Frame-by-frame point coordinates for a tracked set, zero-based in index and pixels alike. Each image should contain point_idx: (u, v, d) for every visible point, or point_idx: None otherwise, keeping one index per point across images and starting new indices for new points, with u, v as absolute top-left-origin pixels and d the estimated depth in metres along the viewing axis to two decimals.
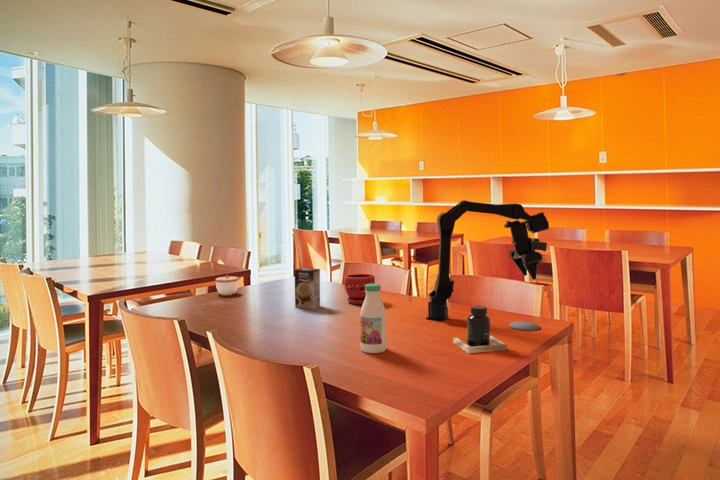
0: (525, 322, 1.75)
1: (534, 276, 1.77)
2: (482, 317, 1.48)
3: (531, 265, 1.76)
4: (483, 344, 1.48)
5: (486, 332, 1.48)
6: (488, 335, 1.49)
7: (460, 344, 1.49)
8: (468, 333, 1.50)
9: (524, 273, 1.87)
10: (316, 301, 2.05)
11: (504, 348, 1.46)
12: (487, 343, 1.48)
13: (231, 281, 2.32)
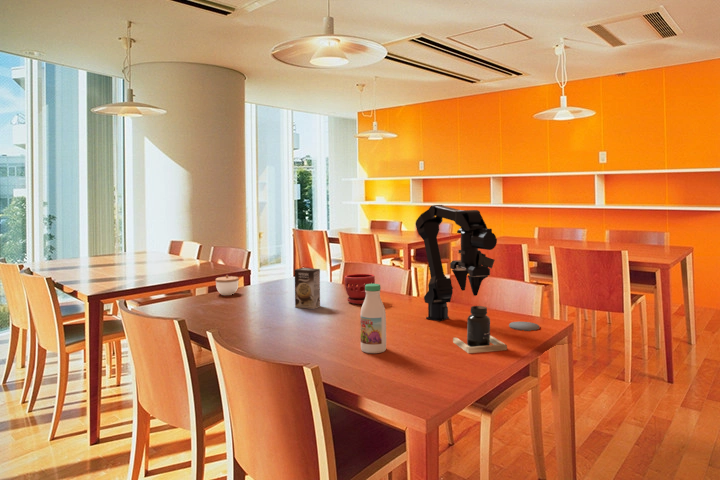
0: (525, 322, 1.75)
1: (476, 292, 1.62)
2: (482, 317, 1.48)
3: (476, 279, 1.61)
4: (483, 344, 1.48)
5: (486, 332, 1.48)
6: (488, 335, 1.49)
7: (460, 344, 1.49)
8: (468, 333, 1.50)
9: (462, 288, 1.71)
10: (316, 301, 2.05)
11: (504, 348, 1.46)
12: (487, 343, 1.48)
13: (231, 281, 2.32)
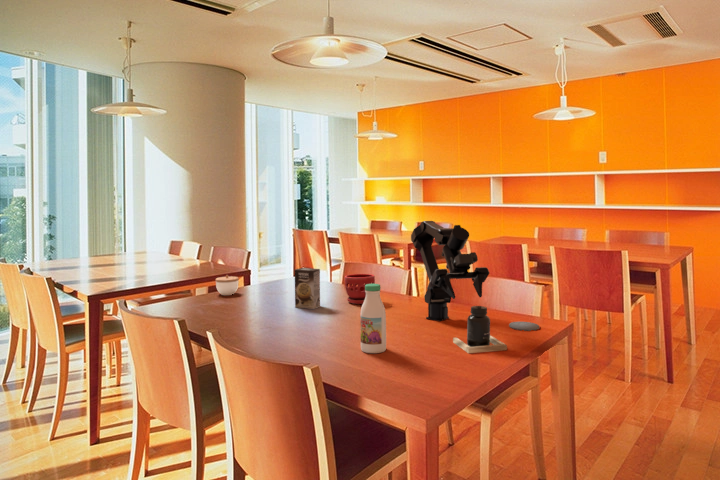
0: (525, 322, 1.75)
1: (452, 295, 1.57)
2: (482, 317, 1.48)
3: (446, 284, 1.60)
4: (483, 344, 1.48)
5: (486, 332, 1.48)
6: (488, 335, 1.49)
7: (460, 344, 1.49)
8: (468, 333, 1.50)
9: (479, 295, 1.60)
10: (316, 301, 2.05)
11: (504, 348, 1.46)
12: (487, 343, 1.48)
13: (231, 281, 2.32)
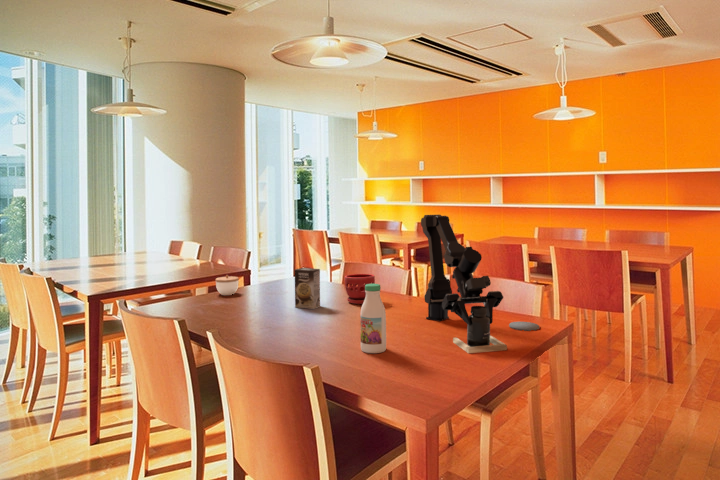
0: (525, 322, 1.75)
1: (467, 321, 1.49)
2: (482, 317, 1.48)
3: (460, 310, 1.52)
4: (483, 344, 1.48)
5: (486, 332, 1.48)
6: (488, 335, 1.49)
7: (460, 344, 1.49)
8: (468, 333, 1.50)
9: None
10: (316, 301, 2.05)
11: (504, 348, 1.46)
12: (487, 343, 1.48)
13: (231, 281, 2.32)
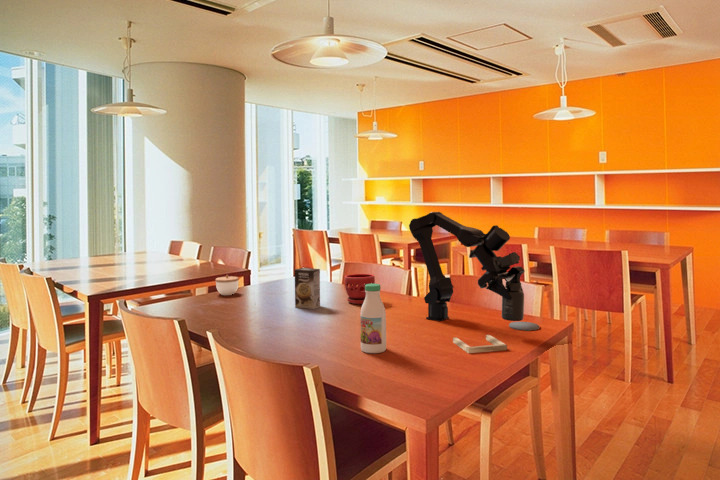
0: (525, 322, 1.75)
1: (507, 296, 1.55)
2: (519, 291, 1.56)
3: (497, 286, 1.57)
4: (521, 316, 1.56)
5: (523, 305, 1.56)
6: (523, 308, 1.57)
7: (460, 344, 1.49)
8: (506, 308, 1.56)
9: None
10: (316, 301, 2.05)
11: (504, 348, 1.46)
12: (523, 315, 1.57)
13: (231, 281, 2.32)
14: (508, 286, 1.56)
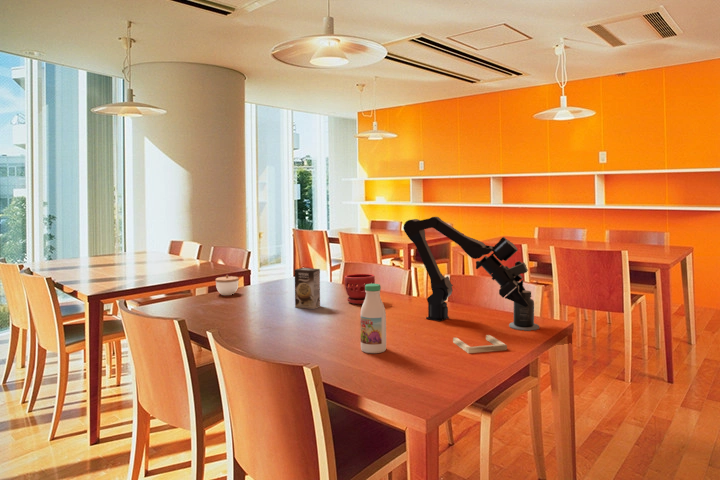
0: None
1: (524, 303, 1.66)
2: (531, 299, 1.70)
3: (514, 295, 1.66)
4: (533, 322, 1.70)
5: None
6: None
7: (460, 344, 1.49)
8: (522, 315, 1.68)
9: None
10: (316, 301, 2.05)
11: (504, 348, 1.46)
12: None
13: (231, 281, 2.32)
14: (522, 295, 1.69)
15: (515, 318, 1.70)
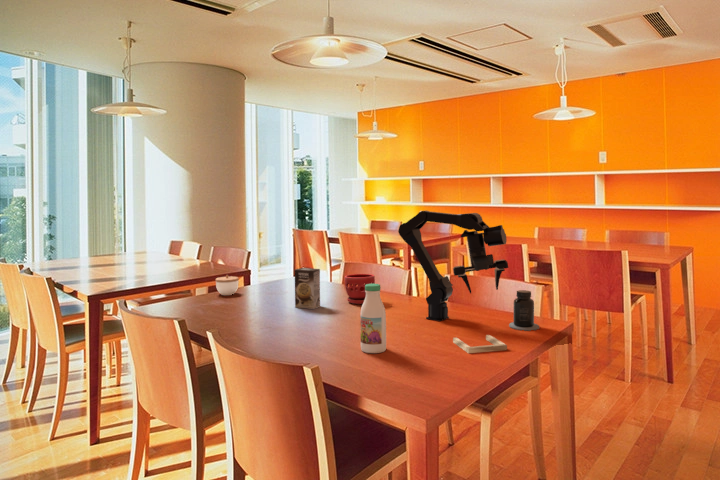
0: None
1: None
2: (531, 299, 1.70)
3: None
4: (533, 322, 1.70)
5: None
6: None
7: (460, 344, 1.49)
8: (522, 315, 1.68)
9: None
10: (316, 301, 2.05)
11: (504, 348, 1.46)
12: None
13: (231, 281, 2.32)
14: (522, 295, 1.69)
15: (515, 318, 1.70)
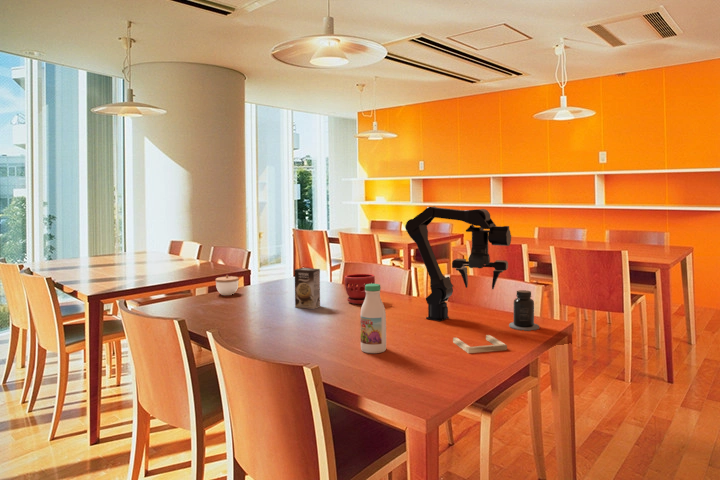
0: None
1: None
2: (531, 299, 1.70)
3: None
4: (533, 322, 1.70)
5: None
6: None
7: (460, 344, 1.49)
8: (522, 315, 1.68)
9: None
10: (316, 301, 2.05)
11: (504, 348, 1.46)
12: None
13: (231, 281, 2.32)
14: (522, 295, 1.69)
15: (515, 318, 1.70)
